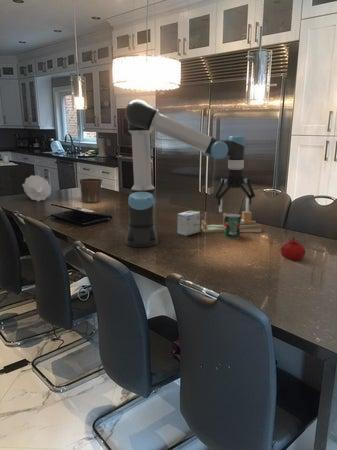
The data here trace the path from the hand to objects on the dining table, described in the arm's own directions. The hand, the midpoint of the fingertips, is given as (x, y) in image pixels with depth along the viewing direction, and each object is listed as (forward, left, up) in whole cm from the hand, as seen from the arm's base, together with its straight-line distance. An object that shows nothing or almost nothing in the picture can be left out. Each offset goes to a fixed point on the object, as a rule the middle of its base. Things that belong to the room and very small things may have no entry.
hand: (233, 211), depth 185 cm
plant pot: (+94, +79, -13) cm, 124 cm away
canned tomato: (0, 0, -13) cm, 13 cm away
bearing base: (+12, -2, -13) cm, 18 cm away
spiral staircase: (+106, +120, -13) cm, 161 cm away
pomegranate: (-34, -17, -13) cm, 40 cm away
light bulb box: (+8, +21, -13) cm, 26 cm away
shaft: (+12, -8, -11) cm, 18 cm away
